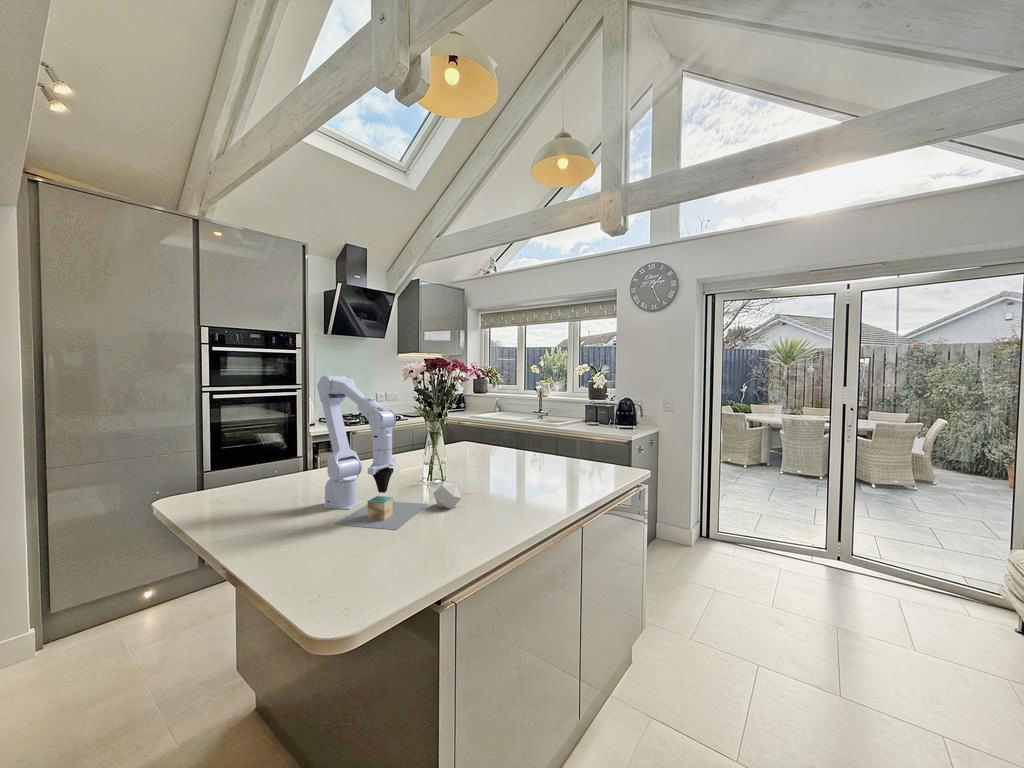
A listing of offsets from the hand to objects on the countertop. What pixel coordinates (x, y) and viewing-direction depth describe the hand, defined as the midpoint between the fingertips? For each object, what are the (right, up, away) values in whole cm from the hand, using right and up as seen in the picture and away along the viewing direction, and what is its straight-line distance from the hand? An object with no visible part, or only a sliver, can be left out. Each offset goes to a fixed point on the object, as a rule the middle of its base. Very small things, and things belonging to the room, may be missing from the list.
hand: (382, 492), depth 133 cm
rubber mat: (0, -7, +2) cm, 8 cm away
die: (+19, -8, +9) cm, 22 cm away
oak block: (0, -2, -1) cm, 2 cm away
